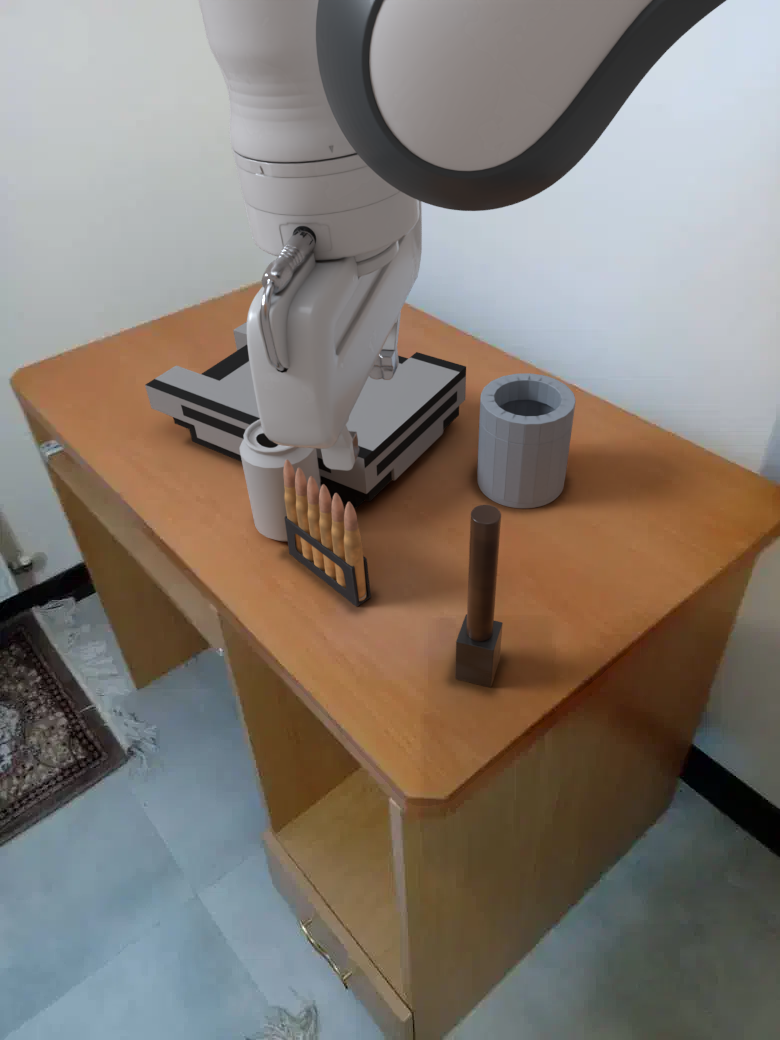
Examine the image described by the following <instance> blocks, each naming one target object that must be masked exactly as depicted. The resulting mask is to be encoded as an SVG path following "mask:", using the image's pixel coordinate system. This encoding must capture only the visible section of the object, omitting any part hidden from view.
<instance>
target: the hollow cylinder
mask: <svg viewBox="0 0 780 1040" xmlns="http://www.w3.org/2000/svg"><path fill="white" fill-rule="evenodd" d="M479 398H480V399H479V401H480V402H479V423H478V424H479V425H478V443H477V444H478V447H477V468H476V473H477V479H476V481H477V485H478V487H479V490H480V491H481V492H482V494H483V495H484V496H486V497H487V499H489V500H490V501H492V502H494V503H496V504H498V505H502V506H504V507H508V508H513V509H534V508H540V507H543V506H546V505H548V504H550V503H552V502H553V501H555V500H557V498H559V496H560V495H561V494H562V492H563V490H564V487H565V481H566V475H567V469H568V461H569V453H570V447H571V446H570V445H571V439H572V437H571V436H572V431H573V425H574V416H575V409H576V397H575V393H574V392H573V390H572V389H571V388H570V387H569V386H568V385H567V384H565V383H563V382H562V381H560V380H559V379H557V378H554V377H550V376H549V375H545V374H538V373H529V372H528V373H527V372H526V373H524V372H523V373H512V374H507V375H503V376H500V377H497V378H494V379H493V380H490V382H488V383H487V384H486V385H485V386H483V389H482V390H481V393H480V397H479Z"/></svg>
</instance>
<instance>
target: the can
mask: <svg viewBox="0 0 780 1040" xmlns="http://www.w3.org/2000/svg"><path fill="white" fill-rule="evenodd" d="M243 436H244V439H243V441H242V443H241V445H240V455H241V460H242V462H241V464H242V465H241V466H242V469H243V474H244V479H245V484H246V489H247V493H248V494H247V495H248V498H249V499H248V500H249V503H250V508H251V513H252V517H253V523H254V527H255V528H256V530H257V532H258V533H259V534H261V535H262V536H263V537H265V538H268V539H272V540H274V541H278V542H288V540H287V533H286V525H285V518H284V517H285V516H287V511H286V505H285V498H284V496H285V488H284V475H283V472H284V464H285V461H286V460H287V459H288V460H289V461H290V463H291V464H292V466H293V469H294V472H295V475H296V471H297V469H298V468H301V470H302V471H303V473H304V475H305V477H306V480H307V484H308V480H309V477H310V476H313V478H314V479H315V481H316V483H317V485H318V488H319V492H320V489H321V484H320V476H319V468H318V459H317V451H316V448H301V447H292V446H283V445H278V444H276V443H274V442H273V441H271V440H270V439H269V438H267V436H266V435H265V434H264V432H263V429H262V426H261V422H260V419H259V420H257V421H255V422H254V423H252V424H251V425H250V426H249V427H248V428H247V429H246V430H245V433H244V435H243ZM287 518H288V517H287Z"/></svg>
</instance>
